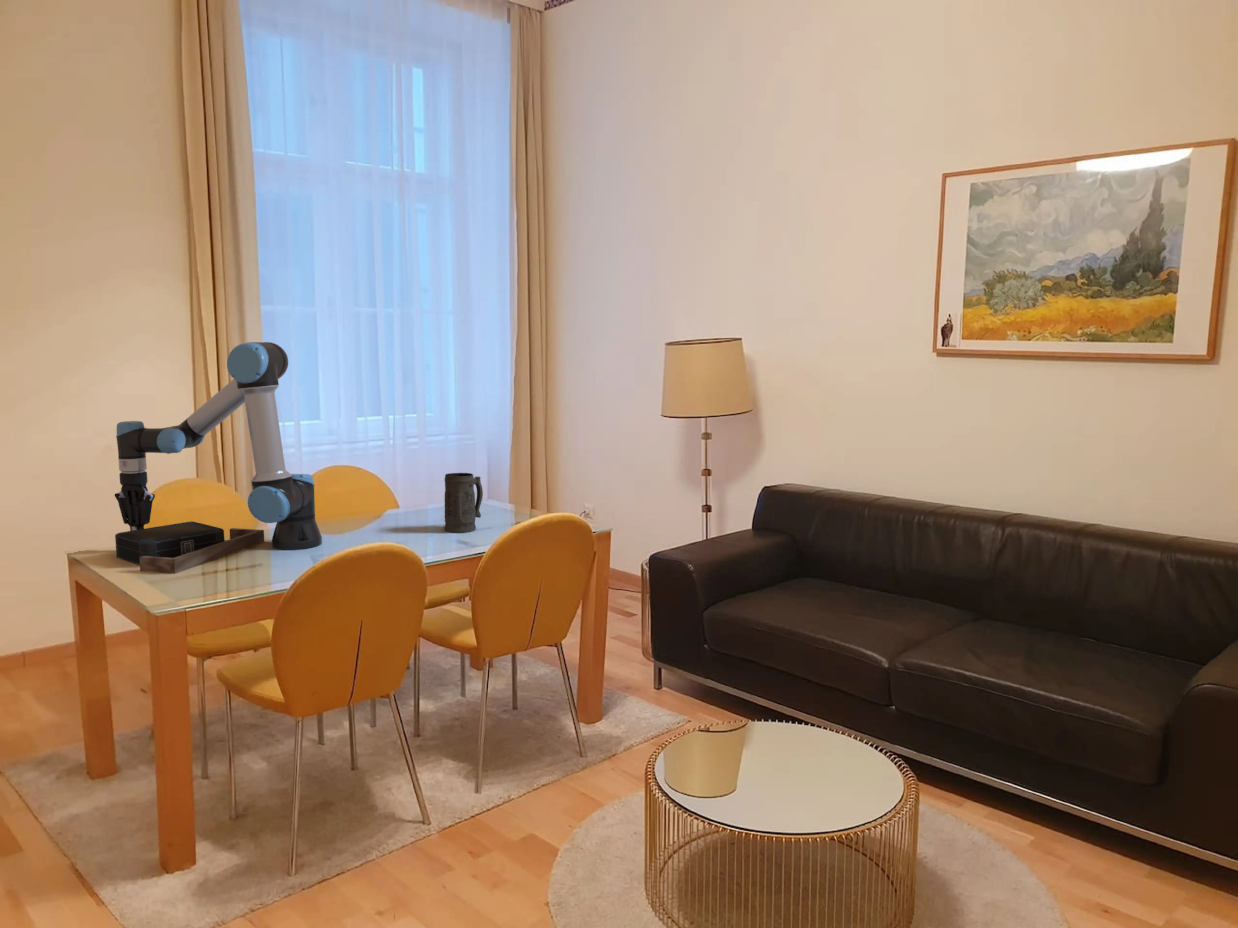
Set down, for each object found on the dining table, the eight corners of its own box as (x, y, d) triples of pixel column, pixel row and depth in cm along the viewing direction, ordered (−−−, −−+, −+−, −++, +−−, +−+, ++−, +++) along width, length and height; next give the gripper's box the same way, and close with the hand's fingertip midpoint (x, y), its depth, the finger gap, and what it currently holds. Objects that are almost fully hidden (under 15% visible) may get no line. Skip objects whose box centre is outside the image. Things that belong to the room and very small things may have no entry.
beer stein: (460, 534, 310) (461, 475, 308) (436, 530, 315) (438, 473, 314) (489, 529, 323) (491, 473, 321) (466, 526, 328) (467, 470, 327)
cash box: (147, 568, 264) (145, 542, 263) (114, 558, 276) (112, 533, 275) (228, 553, 284) (227, 528, 283) (194, 543, 296) (193, 520, 295)
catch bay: (264, 541, 297) (263, 529, 297) (175, 573, 258) (174, 559, 257) (233, 539, 300) (232, 527, 299) (140, 570, 260) (139, 557, 260)
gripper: (105, 472, 279) (111, 547, 282) (142, 474, 276) (147, 550, 279) (124, 468, 286) (129, 542, 289) (159, 470, 283) (164, 545, 286)
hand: (138, 546), depth 284 cm, fingers closed
